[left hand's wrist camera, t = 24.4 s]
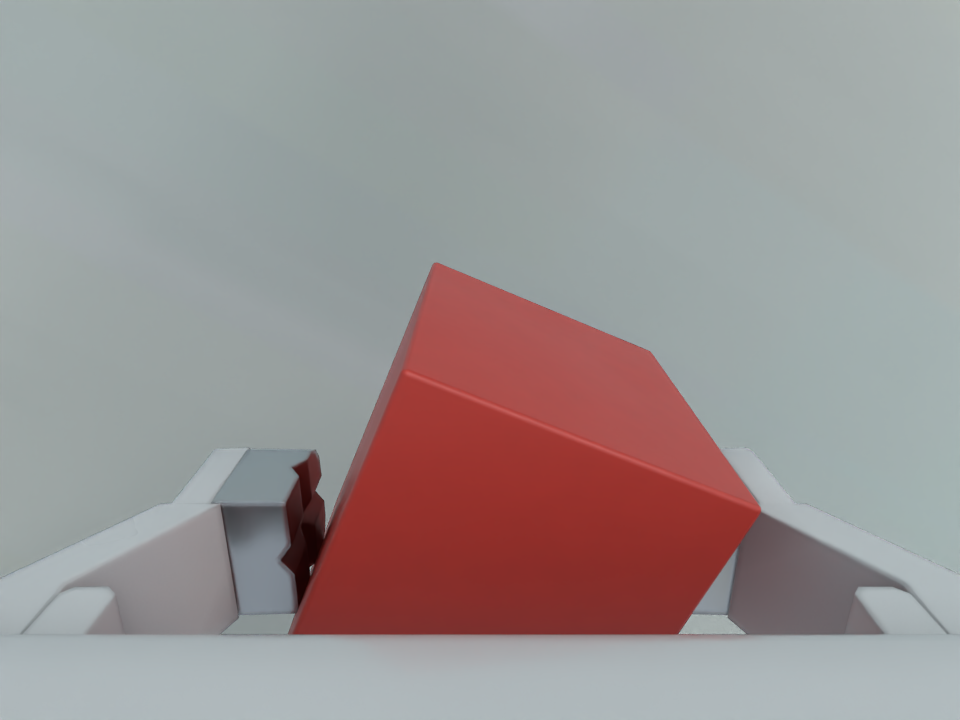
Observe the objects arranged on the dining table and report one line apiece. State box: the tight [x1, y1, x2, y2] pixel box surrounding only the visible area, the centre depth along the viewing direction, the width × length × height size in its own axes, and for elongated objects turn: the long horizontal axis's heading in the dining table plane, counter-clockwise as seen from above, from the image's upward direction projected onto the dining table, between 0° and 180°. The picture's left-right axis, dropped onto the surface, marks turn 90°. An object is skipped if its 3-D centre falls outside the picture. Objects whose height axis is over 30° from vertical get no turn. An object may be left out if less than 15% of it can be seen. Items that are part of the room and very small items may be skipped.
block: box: [288, 263, 761, 634], centre depth 10 cm, size 4×5×5 cm
